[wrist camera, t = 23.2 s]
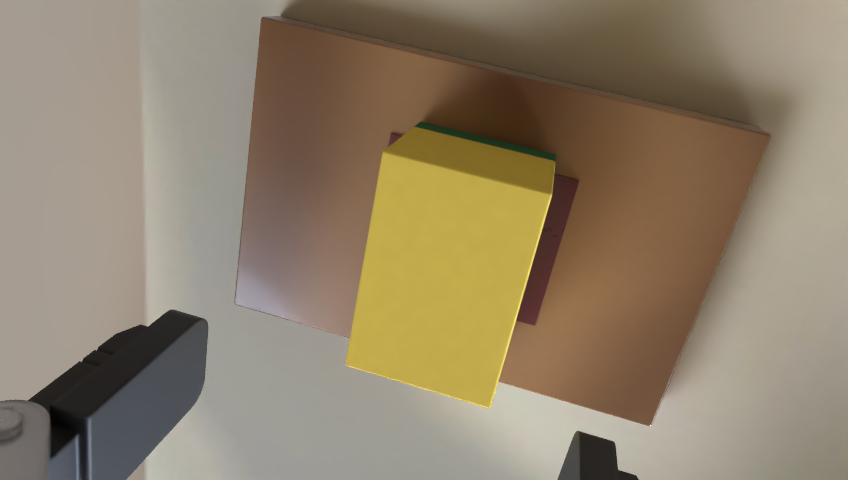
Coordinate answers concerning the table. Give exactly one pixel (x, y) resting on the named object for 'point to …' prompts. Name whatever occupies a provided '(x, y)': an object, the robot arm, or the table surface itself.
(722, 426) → the table surface
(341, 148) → the board
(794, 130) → the table surface
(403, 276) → the sponge
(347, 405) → the table surface
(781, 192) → the table surface
